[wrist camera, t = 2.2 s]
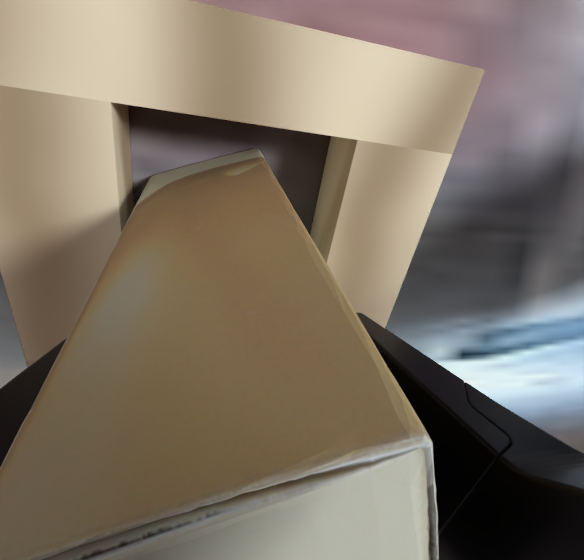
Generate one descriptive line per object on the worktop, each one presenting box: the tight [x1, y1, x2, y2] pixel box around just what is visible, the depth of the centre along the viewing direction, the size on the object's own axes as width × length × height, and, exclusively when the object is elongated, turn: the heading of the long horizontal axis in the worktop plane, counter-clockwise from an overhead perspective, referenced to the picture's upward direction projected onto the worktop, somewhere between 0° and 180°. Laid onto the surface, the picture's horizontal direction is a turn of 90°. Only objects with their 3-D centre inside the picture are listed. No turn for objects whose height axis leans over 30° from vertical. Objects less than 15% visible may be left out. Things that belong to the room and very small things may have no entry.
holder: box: [0, 0, 485, 367], centre depth 13 cm, size 14×14×2 cm
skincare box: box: [0, 148, 439, 560], centre depth 9 cm, size 6×4×12 cm
